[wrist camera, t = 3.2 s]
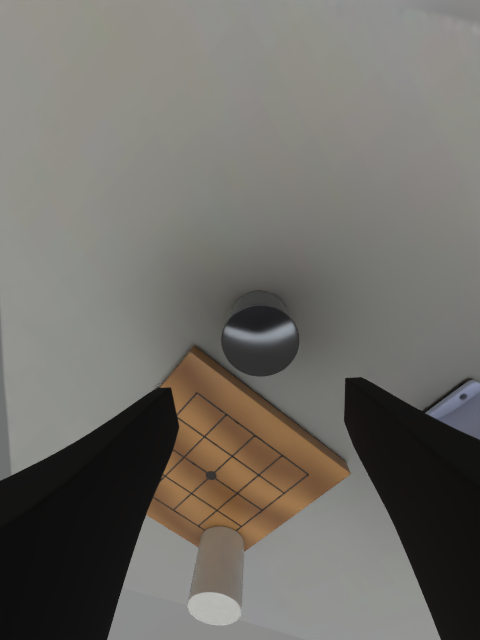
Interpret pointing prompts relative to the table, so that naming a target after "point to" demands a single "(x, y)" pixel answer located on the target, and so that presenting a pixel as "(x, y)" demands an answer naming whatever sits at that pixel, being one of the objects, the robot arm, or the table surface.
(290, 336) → the dark grey cylinder
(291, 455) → the go board
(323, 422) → the table surface
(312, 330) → the table surface
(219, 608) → the white stone
